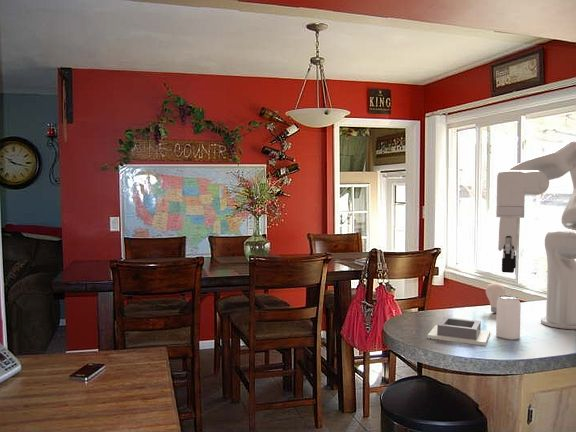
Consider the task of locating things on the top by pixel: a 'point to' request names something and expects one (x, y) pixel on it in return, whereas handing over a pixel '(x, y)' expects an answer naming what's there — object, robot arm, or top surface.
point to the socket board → (460, 331)
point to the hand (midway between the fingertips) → (508, 270)
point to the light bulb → (494, 294)
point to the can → (508, 317)
